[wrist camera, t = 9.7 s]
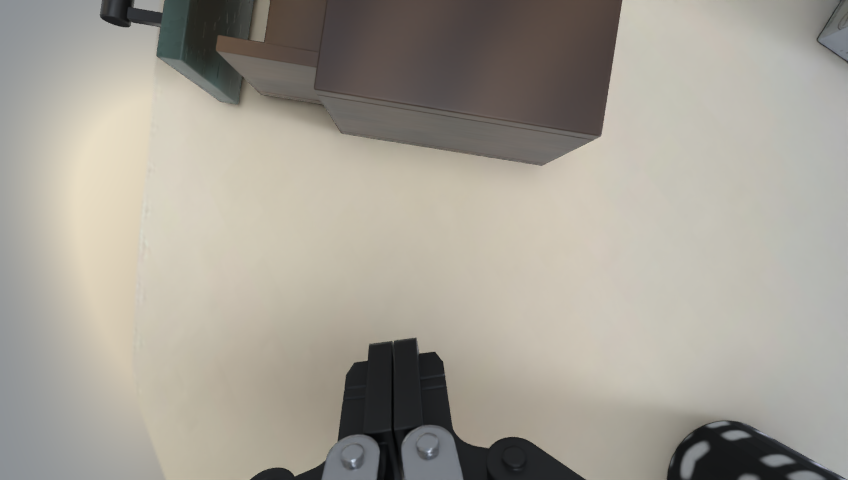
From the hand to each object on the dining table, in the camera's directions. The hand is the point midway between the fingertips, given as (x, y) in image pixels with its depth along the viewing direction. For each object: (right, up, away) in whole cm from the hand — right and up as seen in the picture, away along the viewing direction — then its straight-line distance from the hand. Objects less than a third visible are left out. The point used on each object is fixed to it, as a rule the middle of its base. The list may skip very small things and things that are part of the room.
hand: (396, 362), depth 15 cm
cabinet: (+3, +16, +17) cm, 24 cm away
